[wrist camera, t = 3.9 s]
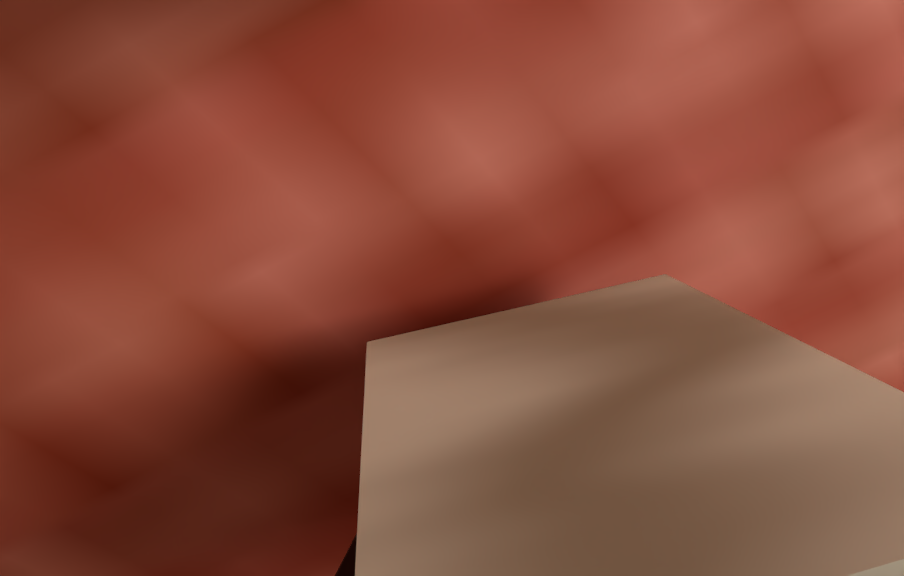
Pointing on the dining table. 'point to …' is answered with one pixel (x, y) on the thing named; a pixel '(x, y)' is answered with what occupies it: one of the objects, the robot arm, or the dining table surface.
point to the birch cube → (625, 446)
